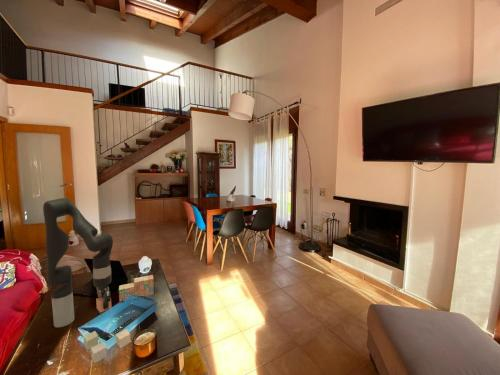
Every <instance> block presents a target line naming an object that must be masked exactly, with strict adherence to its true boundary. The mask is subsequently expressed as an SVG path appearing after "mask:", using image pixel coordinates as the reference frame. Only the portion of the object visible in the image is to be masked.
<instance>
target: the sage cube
mask: <svg viewBox="0 0 500 375" xmlns="http://www.w3.org/2000/svg"><path fill="white" fill-rule="evenodd" d="M99 339H100V335H99V334H98V332H96V330H93V331H92V332H90V333H88V334H85V335H84V336H83V346H84V348H85V349H86V350H87V351H89V350H91V348H92V347H94V346H96V345H97V344H98V340H99ZM99 341H100V340H99Z"/></svg>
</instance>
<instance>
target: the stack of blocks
mask: <svg viewBox="0 0 500 375" xmlns="http://www.w3.org/2000/svg"><path fill="white" fill-rule="evenodd" d="M154 286H155V282H154V274H150V275H144V276H140V277H136V278H133V282H131V283H127V284H126V283H125V284H121V285H119V286H118V298H119V299H118V300H119V303H120V301H122V300H124V299H126V298H128V297H129V296H131V295H135V296H146V297H150V296H153V295H155V289H154V288H155V287H154Z"/></svg>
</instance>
